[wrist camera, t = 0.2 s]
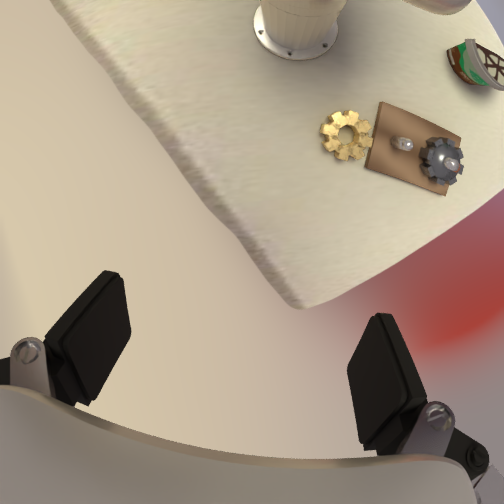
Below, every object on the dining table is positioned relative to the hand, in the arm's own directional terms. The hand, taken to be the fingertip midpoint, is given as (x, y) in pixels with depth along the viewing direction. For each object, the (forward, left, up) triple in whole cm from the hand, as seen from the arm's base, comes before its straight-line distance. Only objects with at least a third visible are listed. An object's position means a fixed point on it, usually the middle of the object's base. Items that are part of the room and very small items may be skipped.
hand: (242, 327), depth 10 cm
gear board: (-9, +23, -36) cm, 43 cm away
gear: (-9, +27, -35) cm, 44 cm away
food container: (-28, +31, -36) cm, 55 cm away
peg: (-9, +18, -35) cm, 40 cm away
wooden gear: (-8, +10, -36) cm, 38 cm away
